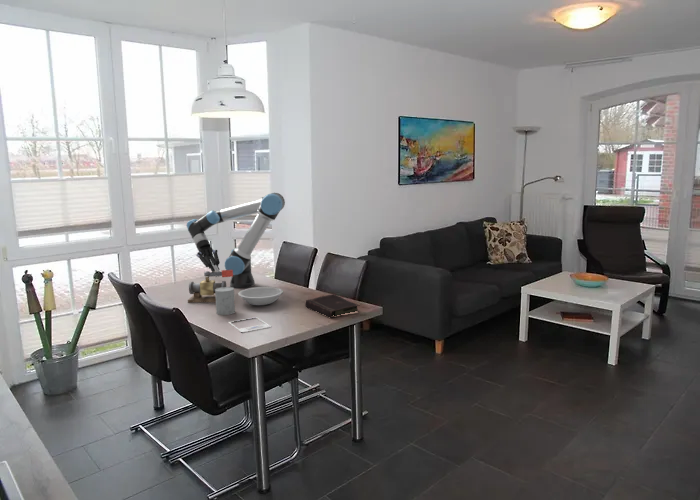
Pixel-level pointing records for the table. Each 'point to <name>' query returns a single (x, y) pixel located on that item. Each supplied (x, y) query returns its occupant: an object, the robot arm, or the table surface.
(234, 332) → the table surface
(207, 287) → the valve stand
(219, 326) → the table surface
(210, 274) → the lever
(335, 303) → the diary
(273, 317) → the table surface
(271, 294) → the sink basin
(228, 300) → the speckled concrete cylinder
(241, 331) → the photo frame
